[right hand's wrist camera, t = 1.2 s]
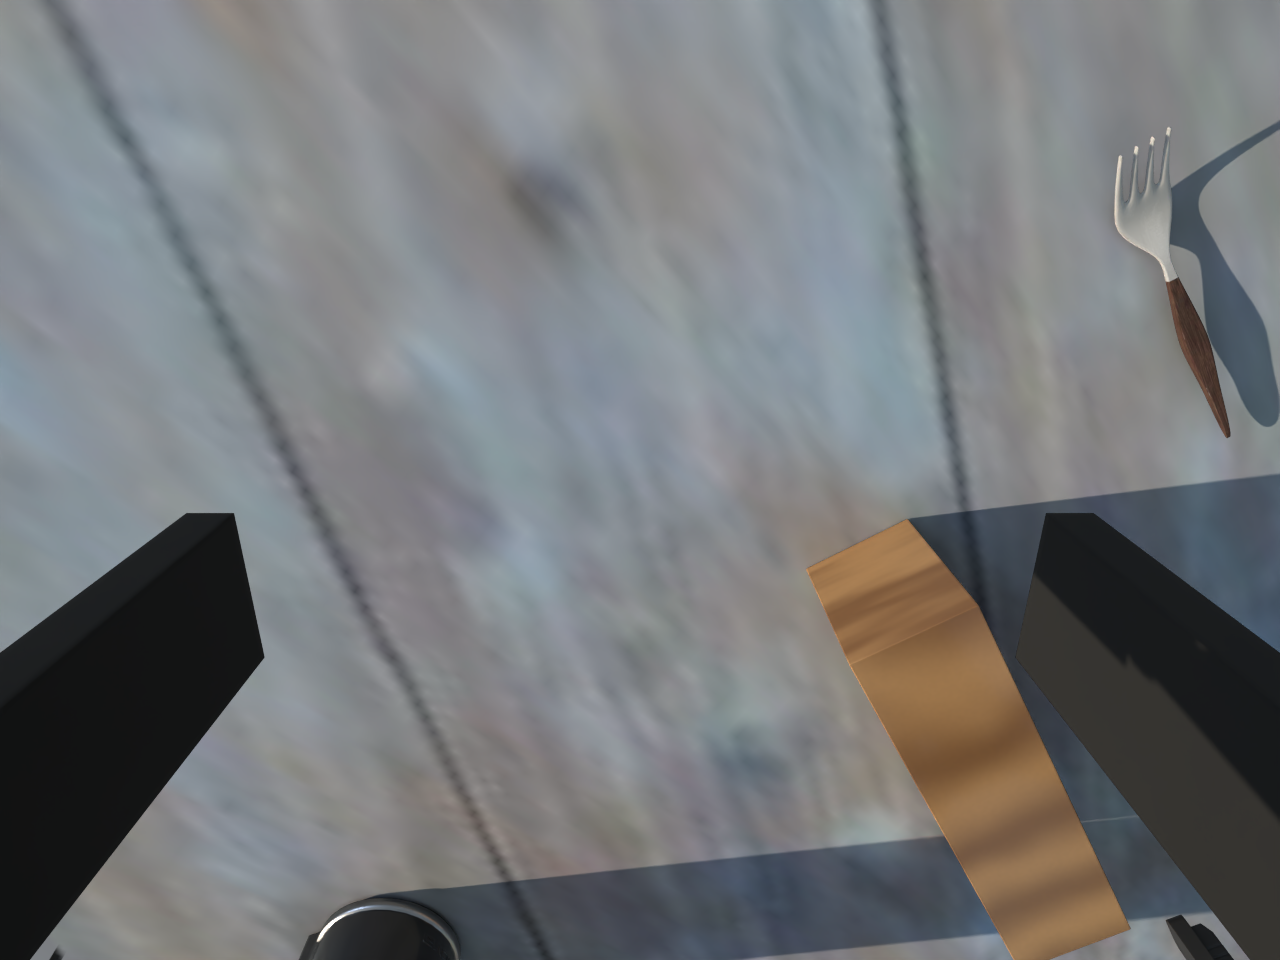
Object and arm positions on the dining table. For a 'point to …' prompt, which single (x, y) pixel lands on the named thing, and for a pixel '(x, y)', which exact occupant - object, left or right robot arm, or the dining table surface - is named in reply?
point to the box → (968, 741)
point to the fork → (1168, 267)
